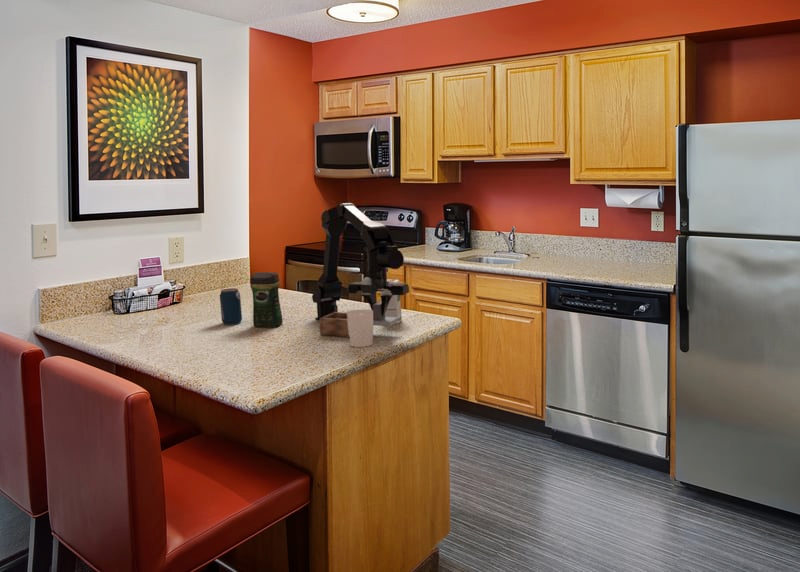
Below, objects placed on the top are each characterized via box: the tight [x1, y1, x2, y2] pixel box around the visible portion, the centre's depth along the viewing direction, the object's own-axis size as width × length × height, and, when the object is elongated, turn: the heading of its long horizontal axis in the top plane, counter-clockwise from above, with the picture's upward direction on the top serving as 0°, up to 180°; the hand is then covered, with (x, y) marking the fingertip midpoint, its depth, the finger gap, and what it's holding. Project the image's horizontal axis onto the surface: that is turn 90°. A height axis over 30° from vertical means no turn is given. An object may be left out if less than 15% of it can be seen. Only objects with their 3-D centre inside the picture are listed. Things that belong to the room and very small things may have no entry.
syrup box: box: [380, 278, 402, 325], centre depth 209 cm, size 6×6×14 cm
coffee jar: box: [249, 271, 283, 328], centre depth 210 cm, size 10×8×19 cm
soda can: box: [219, 287, 243, 326], centre depth 216 cm, size 7×7×12 cm
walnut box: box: [319, 311, 349, 338], centre depth 197 cm, size 12×10×6 cm
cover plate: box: [372, 301, 398, 327], centre depth 191 cm, size 10×7×6 cm
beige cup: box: [346, 308, 374, 348], centre depth 182 cm, size 8×8×10 cm
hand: (379, 315), depth 192 cm, fingers closed on cover plate, 2 cm apart
